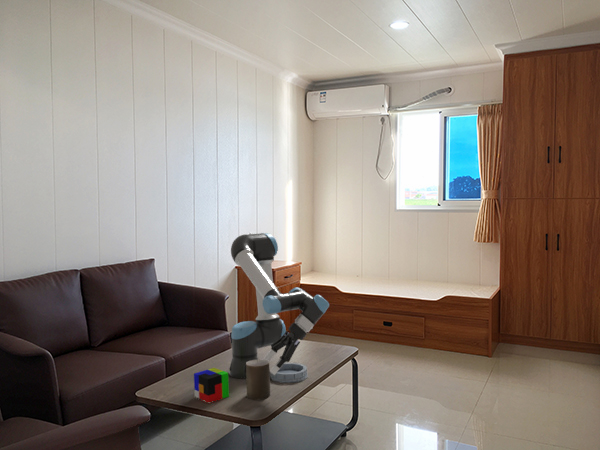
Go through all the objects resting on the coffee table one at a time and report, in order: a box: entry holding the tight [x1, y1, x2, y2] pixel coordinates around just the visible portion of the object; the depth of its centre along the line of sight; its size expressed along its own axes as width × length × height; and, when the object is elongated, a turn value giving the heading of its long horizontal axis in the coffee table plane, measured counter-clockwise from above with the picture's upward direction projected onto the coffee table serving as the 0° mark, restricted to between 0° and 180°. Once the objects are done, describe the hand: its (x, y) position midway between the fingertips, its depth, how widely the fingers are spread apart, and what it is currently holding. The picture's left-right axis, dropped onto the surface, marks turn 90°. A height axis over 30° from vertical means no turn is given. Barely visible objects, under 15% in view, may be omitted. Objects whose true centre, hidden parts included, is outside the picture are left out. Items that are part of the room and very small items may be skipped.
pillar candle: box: [245, 358, 271, 400], centre depth 210 cm, size 10×10×15 cm
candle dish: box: [270, 362, 309, 384], centre depth 232 cm, size 17×17×4 cm
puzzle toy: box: [193, 367, 230, 403], centre depth 210 cm, size 10×10×10 cm
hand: (267, 367), depth 210 cm, fingers open, 13 cm apart
